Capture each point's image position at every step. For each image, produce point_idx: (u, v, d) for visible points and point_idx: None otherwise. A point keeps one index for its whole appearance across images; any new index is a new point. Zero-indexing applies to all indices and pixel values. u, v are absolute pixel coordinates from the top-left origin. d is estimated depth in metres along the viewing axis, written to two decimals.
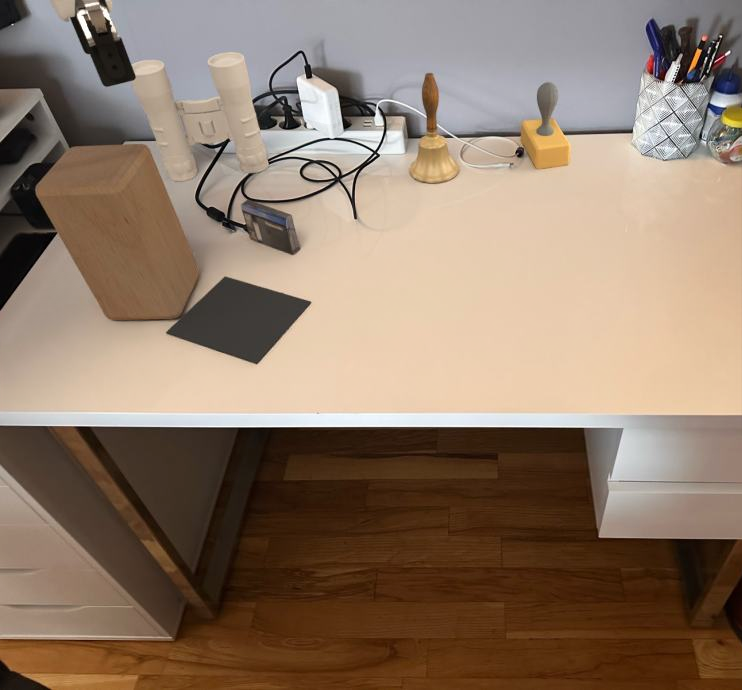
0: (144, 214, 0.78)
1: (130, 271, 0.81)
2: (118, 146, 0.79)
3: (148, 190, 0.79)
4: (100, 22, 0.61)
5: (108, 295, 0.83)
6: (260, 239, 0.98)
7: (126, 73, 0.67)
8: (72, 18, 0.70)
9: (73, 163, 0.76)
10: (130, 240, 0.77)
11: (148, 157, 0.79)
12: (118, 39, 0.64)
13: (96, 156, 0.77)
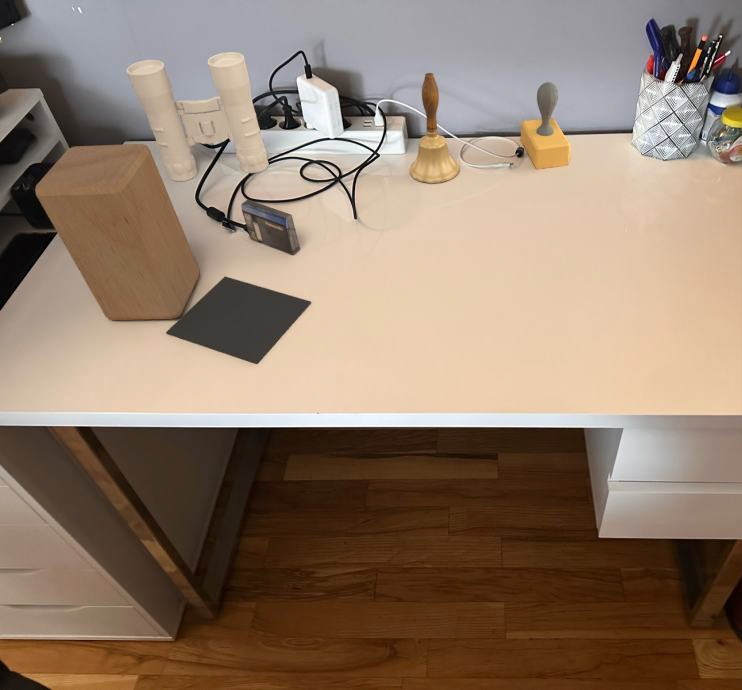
0: (144, 214, 0.78)
1: (130, 271, 0.81)
2: (118, 146, 0.79)
3: (148, 190, 0.79)
4: None
5: (108, 295, 0.83)
6: (260, 239, 0.98)
7: None
8: None
9: (73, 163, 0.76)
10: (130, 240, 0.77)
11: (148, 157, 0.79)
12: None
13: (96, 156, 0.77)
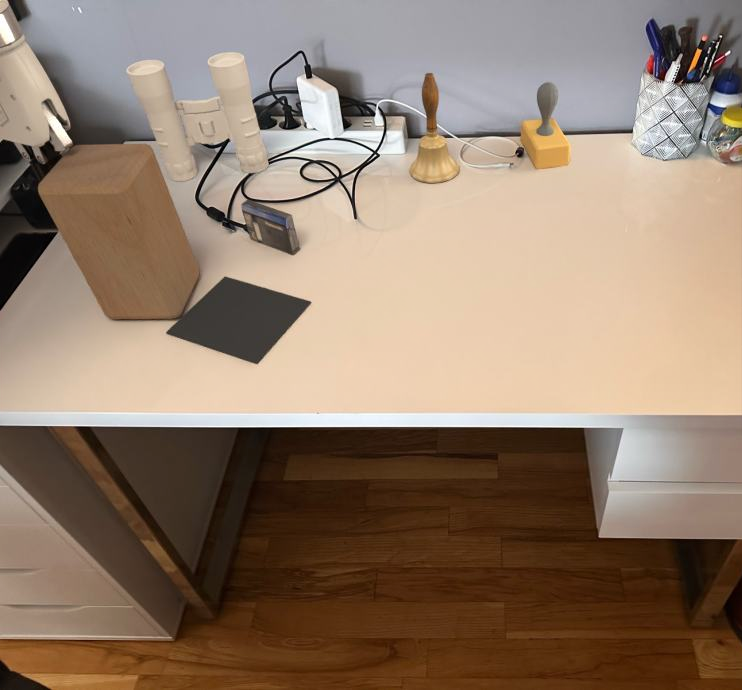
0: (147, 214, 0.78)
1: (131, 271, 0.81)
2: (121, 145, 0.79)
3: (151, 190, 0.79)
4: None
5: (108, 295, 0.83)
6: (260, 239, 0.98)
7: None
8: (34, 164, 0.79)
9: (76, 162, 0.76)
10: (132, 239, 0.77)
11: (151, 157, 0.79)
12: (61, 151, 0.79)
13: (99, 155, 0.77)
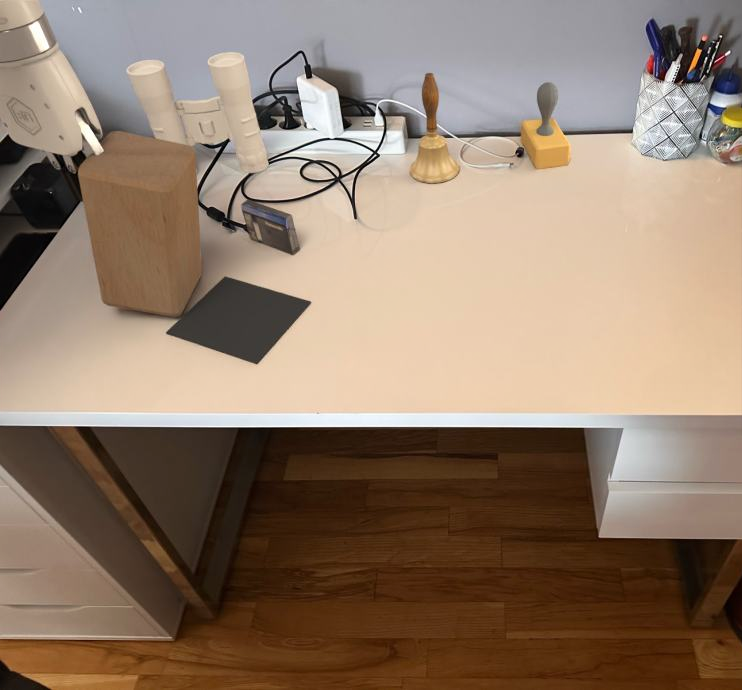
0: (179, 215, 0.78)
1: (147, 265, 0.80)
2: (165, 142, 0.79)
3: (187, 191, 0.79)
4: None
5: (114, 282, 0.82)
6: (260, 239, 0.98)
7: None
8: (65, 173, 0.77)
9: (119, 150, 0.76)
10: (161, 237, 0.78)
11: (193, 160, 0.80)
12: None
13: (143, 148, 0.77)
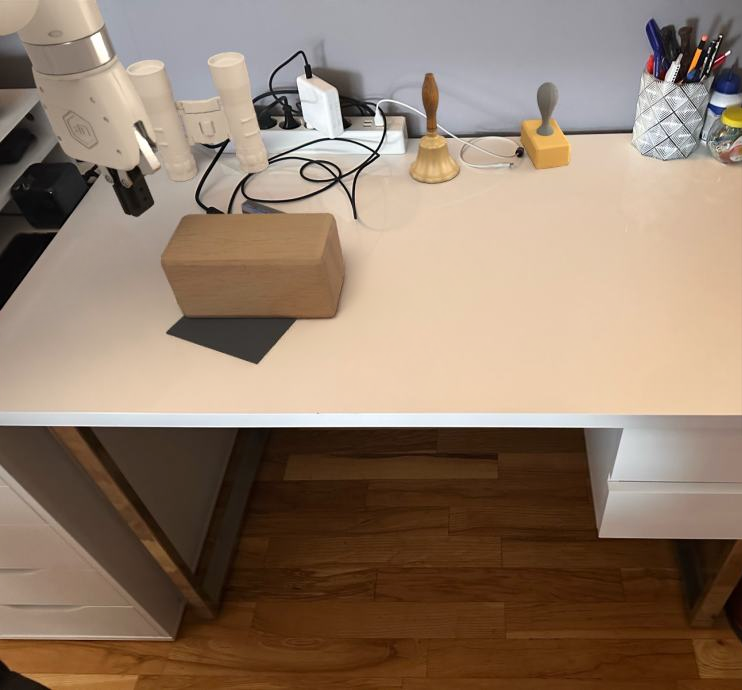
0: None
1: (238, 301, 0.84)
2: (342, 258, 0.89)
3: None
4: None
5: (199, 274, 0.81)
6: None
7: None
8: (118, 187, 0.75)
9: (333, 251, 0.84)
10: (278, 312, 0.85)
11: None
12: (145, 174, 0.75)
13: (337, 257, 0.87)
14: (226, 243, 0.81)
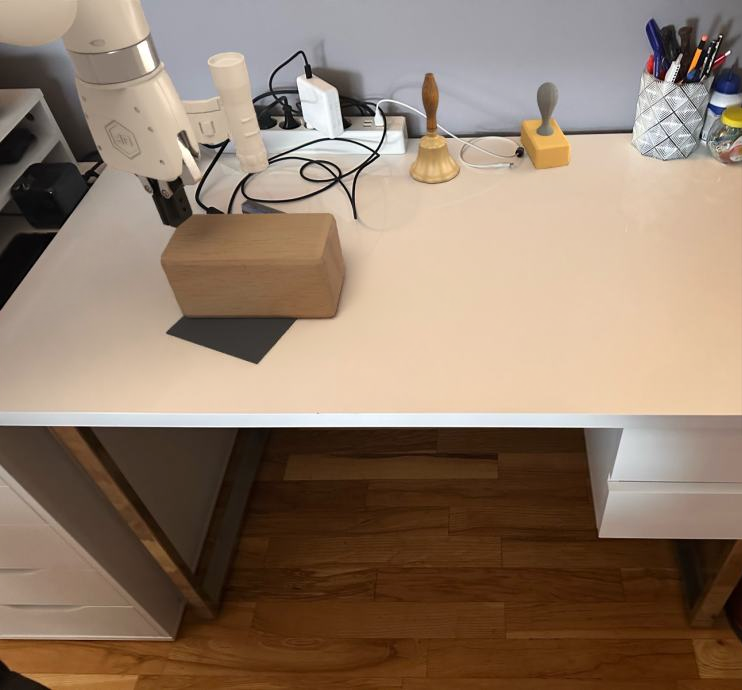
0: None
1: (238, 301, 0.84)
2: (342, 258, 0.89)
3: None
4: None
5: (199, 274, 0.81)
6: None
7: None
8: (157, 198, 0.73)
9: (333, 251, 0.84)
10: (278, 312, 0.85)
11: None
12: (185, 184, 0.74)
13: (337, 257, 0.87)
14: (226, 243, 0.81)
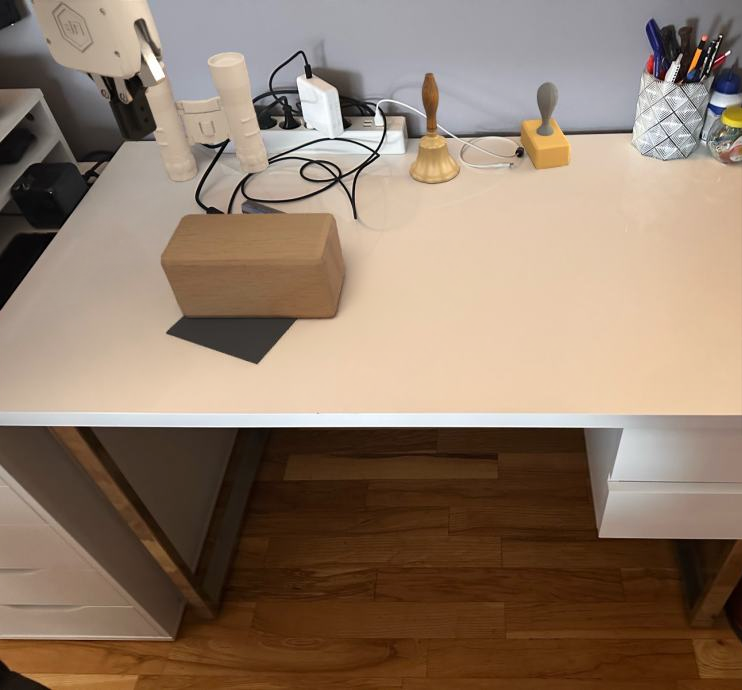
0: None
1: (238, 301, 0.84)
2: (342, 258, 0.89)
3: None
4: None
5: (199, 274, 0.81)
6: None
7: None
8: (115, 104, 0.65)
9: (333, 251, 0.84)
10: (278, 312, 0.85)
11: None
12: (147, 91, 0.66)
13: (337, 257, 0.87)
14: (226, 243, 0.81)
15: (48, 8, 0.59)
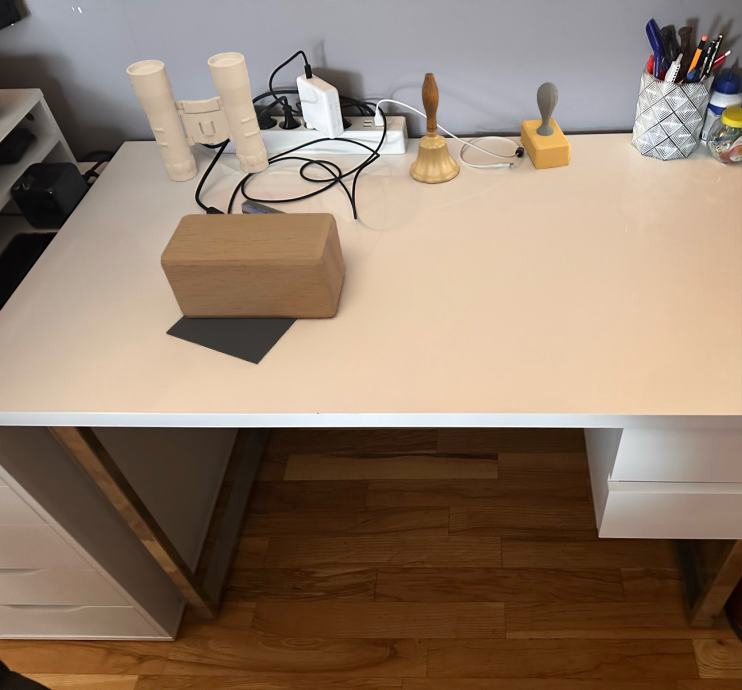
0: None
1: (238, 301, 0.84)
2: (342, 258, 0.89)
3: None
4: None
5: (199, 274, 0.81)
6: None
7: None
8: None
9: (333, 251, 0.84)
10: (278, 312, 0.85)
11: None
12: None
13: (337, 257, 0.87)
14: (226, 243, 0.81)
15: None
